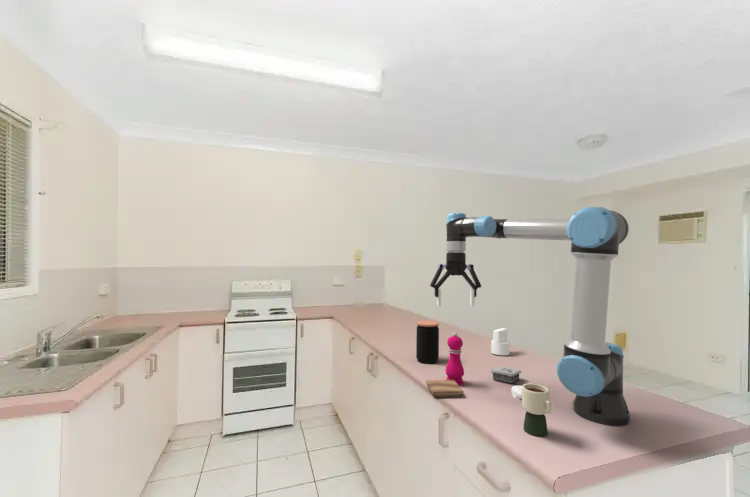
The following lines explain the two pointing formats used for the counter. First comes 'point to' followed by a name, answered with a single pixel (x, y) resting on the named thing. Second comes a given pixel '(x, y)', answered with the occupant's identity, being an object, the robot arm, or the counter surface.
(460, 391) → the walnut stand
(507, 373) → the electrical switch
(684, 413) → the counter surface
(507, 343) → the cylinder with rectangular tab
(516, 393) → the garlic
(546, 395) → the character mug
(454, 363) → the pepper mill
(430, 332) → the coffee jar
